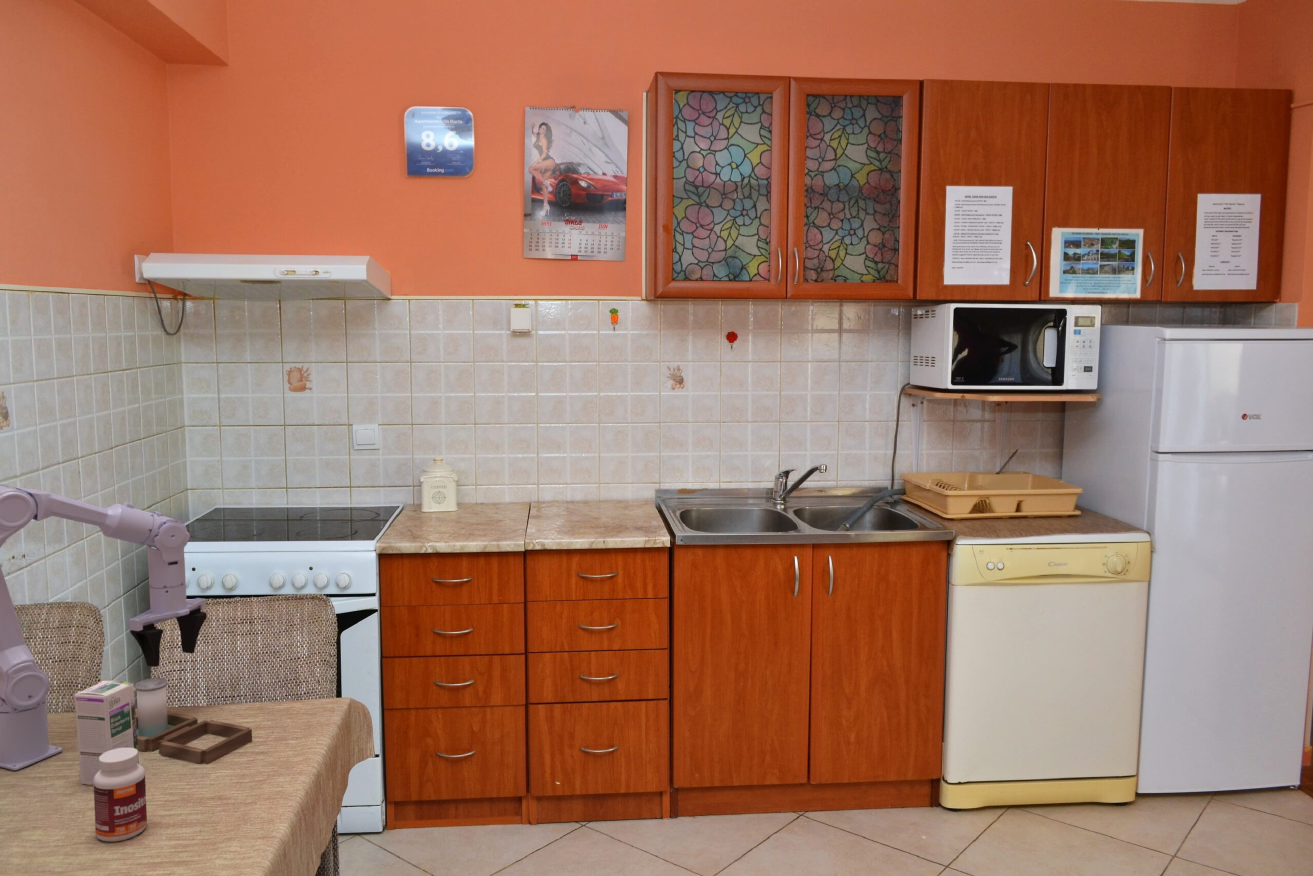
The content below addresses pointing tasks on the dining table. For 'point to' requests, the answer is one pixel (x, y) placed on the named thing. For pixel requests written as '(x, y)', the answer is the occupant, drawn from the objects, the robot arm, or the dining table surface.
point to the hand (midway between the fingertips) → (171, 659)
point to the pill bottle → (119, 795)
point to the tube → (151, 706)
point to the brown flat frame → (188, 730)
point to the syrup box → (104, 723)
